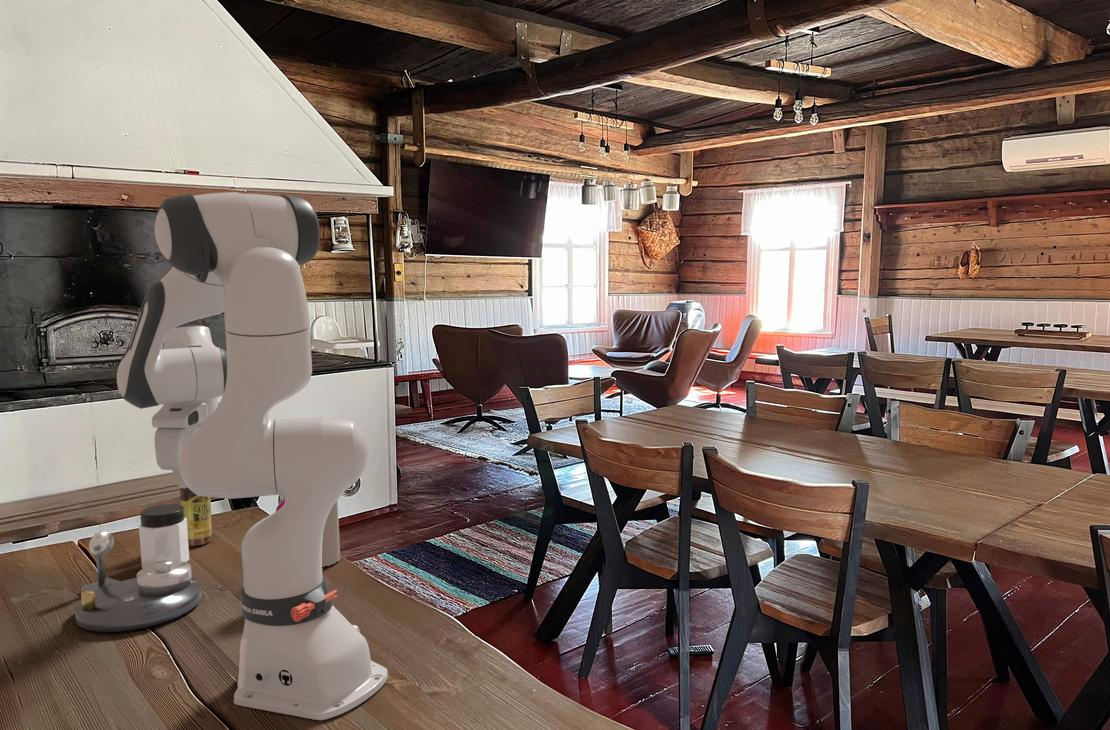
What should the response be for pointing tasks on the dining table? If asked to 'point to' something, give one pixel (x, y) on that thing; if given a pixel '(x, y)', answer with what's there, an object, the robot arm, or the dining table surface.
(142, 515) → the jar
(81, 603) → the turntable
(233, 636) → the dining table surface
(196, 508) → the sauce bottle
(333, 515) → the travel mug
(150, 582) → the cover
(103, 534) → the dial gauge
